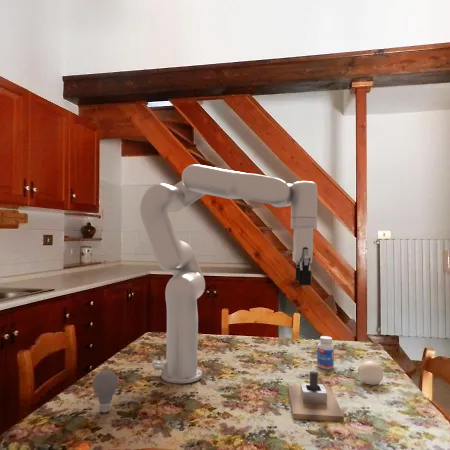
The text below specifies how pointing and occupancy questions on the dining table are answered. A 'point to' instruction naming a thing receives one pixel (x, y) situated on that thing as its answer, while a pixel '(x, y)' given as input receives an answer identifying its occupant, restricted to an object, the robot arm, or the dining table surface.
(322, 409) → the peg on tan base
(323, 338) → the pill bottle
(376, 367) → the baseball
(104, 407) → the light bulb
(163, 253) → the robot arm
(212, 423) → the dining table surface
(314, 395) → the link
